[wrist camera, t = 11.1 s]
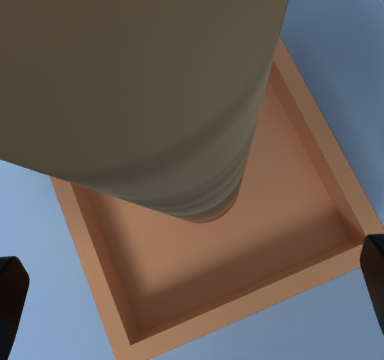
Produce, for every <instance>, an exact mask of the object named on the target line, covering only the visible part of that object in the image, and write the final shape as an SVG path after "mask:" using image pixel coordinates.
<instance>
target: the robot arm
mask: <svg viewBox="0 0 384 360" xmlns="http://www.w3.org/2000/svg"><path fill="white" fill-rule="evenodd" d="M360 266H361V269H362V272H363V275H364V279H365V282H366V285H367V288H368V291H369V295H370V298H371V301H372V304H373V307H374V311H375V314H376V317H377V320H378V323H379V325H380V328H381V330H382V333H383V335H384V234H369V235H367V236H366V237H365V239H364V243H363V247H362V250H361V254H360ZM28 287H29V275H28V273H27V272H26V270H25V268H24V267H23V265H22V263H21V262H20V260H19V259H18V258H17V257H16V256H8V257H0V360H8V357H9V354H10V352H11V349H12V346H13V343H14V340H15V337H16V333H17V330H18V326H19V322H20V318H21V314H22V311H23V307H24V303H25V299H26V295H27V291H28Z"/></svg>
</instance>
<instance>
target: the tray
mask: <svg viewBox="0 0 384 360" xmlns="http://www.w3.org/2000/svg"><path fill="white" fill-rule="evenodd" d="M50 178H51V181H52V184H53V187H54V189H55V192H56V195H57V198H58V200H59V203H60V206H61V209H62V212H63V214H64V217H65V220H66V223H67V225H68V228H69V231H70V234H71V237H72V239H73V242H74V245H75V248H76V250H77V253H78V256H79V259H80V262H81V264H82V267H83V270H84V273H85V275H86V278H87V281H88V284H89V287H90V289H91V292H92V295H93V298H94V300H95V303H96V306H97V309H98V312H99V314H100V317H101V320H102V323H103V325H104V328H105V331H106V334H107V336H108V339H109V342H110V345H111V348H112V350H113V353H114V356H115V359H116V360H149V359H151V358H153V357H156V356H158V355H160V354H162V353H165V352H167V351H169V350H172V349H174V348H176V347H178V346H181V345H183V344H185V343H188V342H190V341H192V340H195V339H197V338H199V337H201V336H204V335H206V334H208V333H211V332H213V331H215V330H217V329H220V328H222V327H224V326H227V325H229V324H231V323H233V322H236V321H238V320H240V319H243V318H245V317H247V316H249V315H252V314H254V313H256V312H259V311H261V310H263V309H266V308H268V307H270V306H272V305H275V304H277V303H279V302H282V301H284V300H286V299H288V298H291V297H293V296H295V295H298V294H300V293H302V292H304V291H307V290H309V289H311V288H314V287H316V286H318V285H320V284H323V283H325V282H327V281H330V280H332V279H334V278H337V277H339V276H341V275H343V274H346V273H348V272H350V271H353V270H355V269H357V268H359V267H361V266H360V254H361V250H362V247H363V243H364V239H365V237H366V236H367V235H369V234H384V228H383V226H382V224H381V222H380V220H379V218H378V216H377V215H376V213H375V211H374V209H373V207H372V205H371V203H370V202H369V200H368V198H367V196H366V194H365V192H364V190H363V189H362V187H361V185H360V183H359V181H358V179H357V177H356V176H355V174H354V172H353V170H352V168H351V166H350V165H349V163H348V161H347V159H346V157H345V155H344V153H343V152H342V150H341V148H340V146H339V144H338V142H337V140H336V139H335V137H334V135H333V133H332V131H331V129H330V127H329V126H328V124H327V122H326V120H325V118H324V116H323V114H322V113H321V111H320V109H319V107H318V105H317V103H316V101H315V100H314V98H313V96H312V94H311V92H310V90H309V89H308V87H307V85H306V83H305V81H304V79H303V77H302V76H301V74H300V72H299V70H298V68H297V66H296V64H295V63H294V61H293V59H292V57H291V55H290V53H289V51H288V50H287V48H286V46H285V44H284V42H283V40H282V38H281V37H280V35H279V39H278V43H277V47H276V50H275V54H274V58H273V62H272V66H271V70H270V74H269V78H268V81H267V85H266V89H265V93H264V97H263V101H262V105H261V108H260V112H259V116H258V120H257V124H256V128H255V132H254V136H253V139H252V143H251V147H250V151H249V155H248V159H247V163H246V166H245V170H244V174H243V178H242V182H241V186H240V190H239V193H238V197H237V199H236V201H235V203H234V205H233V206H232V208H231V209H230V210H229V211H228V212H227V213H226V214H225V215H224V216H222V217H221V218H219V219H217V220H214V221H212V222H208V223H192V222H188V221H185V220H182V219H179V218H176V217H173V216H170V215H167V214H164V213H161V212H158V211H155V210H152V209H149V208H146V207H143V206H140V205H137V204H134V203H131V202H128V201H125V200H122V199H118V198H115V197H112V196H109V195H106V194H103V193H100V192H97V191H94V190H91V189H88V188H85V187H82V186H79V185H76V184H73V183H70V182H67V181H64V180H61V179H58V178H55V177H52V176H50Z"/></svg>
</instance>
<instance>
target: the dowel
mask: <svg viewBox="0 0 384 360" xmlns="http://www.w3.org/2000/svg"><path fill="white" fill-rule="evenodd" d="M287 4H288V0H0V160H3V161H6V162H10V163H13V164H16V165H19V166H22V167H25V168H28V169H31V170H34V171H37V172H40V173H43V174H46V175H49V176H52V177H55V178H58V179H61V180H64V181H67V182H70V183H73V184H76V185H79V186H82V187H85V188H88V189H91V190H94V191H97V192H100V193H103V194H106V195H109V196H112V197H115V198H118V199H122V200H125V201H128V202H131V203H134V204H137V205H140V206H143V207H146V208H149V209H152V210H155V211H158V212H161V213H164V214H167V215H170V216H173V217H176V218H179V219H182V220H185V221H188V222H192V223H208V222H212V221H214V220H217V219H219V218H221V217H222V216H224V215H225V214H226V213H227V212H228V211H229V210H230V209H231V208H232V206H233V205H234V203H235V201H236V199H237V197H238V193H239V190H240V186H241V182H242V178H243V174H244V170H245V166H246V163H247V159H248V155H249V151H250V147H251V143H252V139H253V136H254V132H255V128H256V124H257V120H258V116H259V112H260V108H261V105H262V101H263V97H264V93H265V89H266V85H267V81H268V78H269V74H270V70H271V66H272V62H273V58H274V54H275V50H276V47H277V43H278V39H279V35H280V31H281V27H282V23H283V19H284V16H285V12H286V8H287Z"/></svg>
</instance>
